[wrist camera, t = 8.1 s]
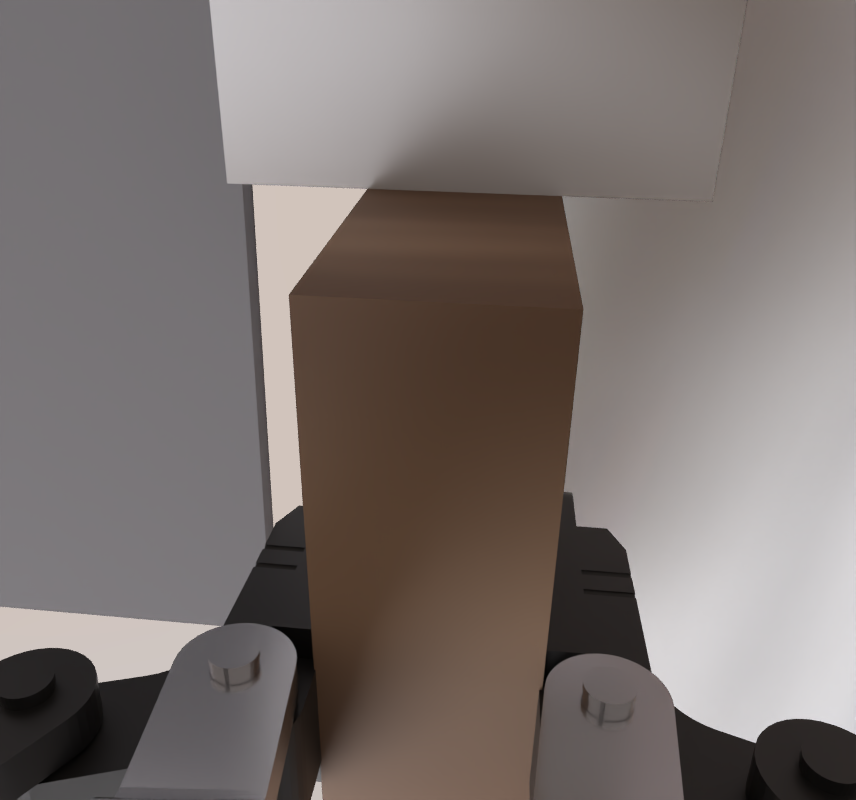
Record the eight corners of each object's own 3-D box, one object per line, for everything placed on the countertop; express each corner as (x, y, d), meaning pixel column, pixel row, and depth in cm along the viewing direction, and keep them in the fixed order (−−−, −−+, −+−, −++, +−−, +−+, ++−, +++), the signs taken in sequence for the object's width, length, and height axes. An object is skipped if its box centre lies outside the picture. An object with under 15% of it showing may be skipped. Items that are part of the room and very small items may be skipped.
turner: (598, 812, 16) (624, 1091, 12) (295, 782, 16) (222, 1040, 12) (866, -792, 7) (1369, -1918, 3) (159, -750, 7) (-289, -1650, 3)
